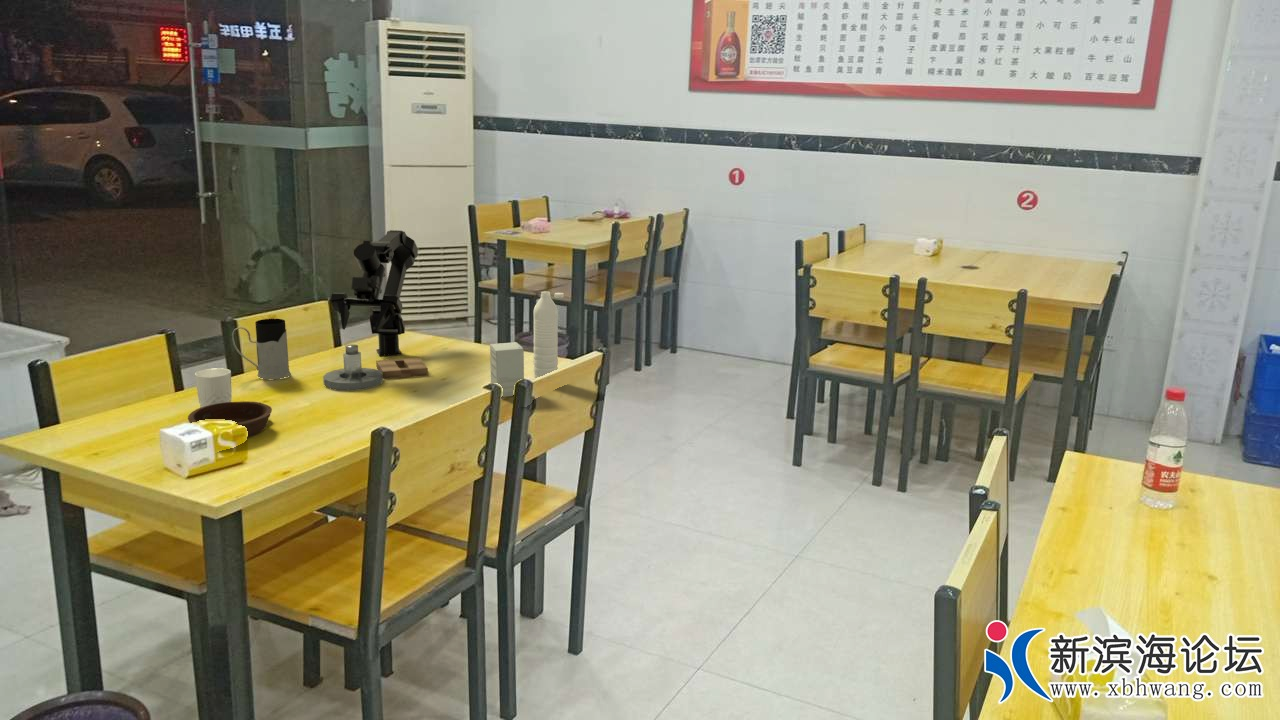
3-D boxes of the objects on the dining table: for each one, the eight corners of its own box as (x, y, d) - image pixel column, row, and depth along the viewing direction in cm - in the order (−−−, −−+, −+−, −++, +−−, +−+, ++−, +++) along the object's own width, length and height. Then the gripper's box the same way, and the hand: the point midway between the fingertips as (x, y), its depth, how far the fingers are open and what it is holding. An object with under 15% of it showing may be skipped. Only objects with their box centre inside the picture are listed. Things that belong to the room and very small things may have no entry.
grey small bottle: (353, 379, 274) (352, 343, 272) (365, 381, 272) (364, 345, 269) (341, 383, 270) (339, 346, 268) (353, 385, 268) (351, 348, 266)
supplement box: (517, 387, 270) (517, 341, 267) (524, 395, 263) (524, 348, 260) (490, 390, 267) (489, 343, 264) (496, 398, 261) (495, 350, 257)
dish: (164, 442, 224) (162, 421, 223) (235, 414, 244) (233, 394, 243) (228, 453, 218) (226, 431, 217) (295, 423, 238) (294, 403, 237)
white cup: (217, 419, 239) (214, 378, 237) (191, 415, 242) (187, 374, 239) (241, 410, 246) (238, 370, 244) (215, 406, 249) (211, 366, 246)
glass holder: (289, 379, 273) (286, 324, 269) (233, 381, 269) (228, 326, 265) (292, 370, 281) (288, 317, 277) (237, 373, 277) (233, 319, 274)
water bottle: (528, 383, 274) (528, 292, 268) (542, 378, 279) (542, 288, 273) (555, 388, 270) (555, 295, 263) (569, 383, 275) (569, 292, 269)
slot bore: (376, 367, 286) (376, 360, 285) (419, 364, 290) (419, 357, 290) (383, 378, 275) (383, 371, 275) (427, 375, 280) (427, 368, 279)
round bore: (321, 377, 275) (320, 370, 274) (377, 372, 281) (377, 365, 280) (327, 392, 262) (326, 385, 261) (386, 387, 267) (386, 380, 267)
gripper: (329, 263, 276) (316, 312, 268) (397, 265, 275) (386, 314, 267) (341, 286, 286) (329, 334, 278) (407, 288, 284) (396, 336, 277)
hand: (360, 329), depth 275 cm, fingers open, 9 cm apart
